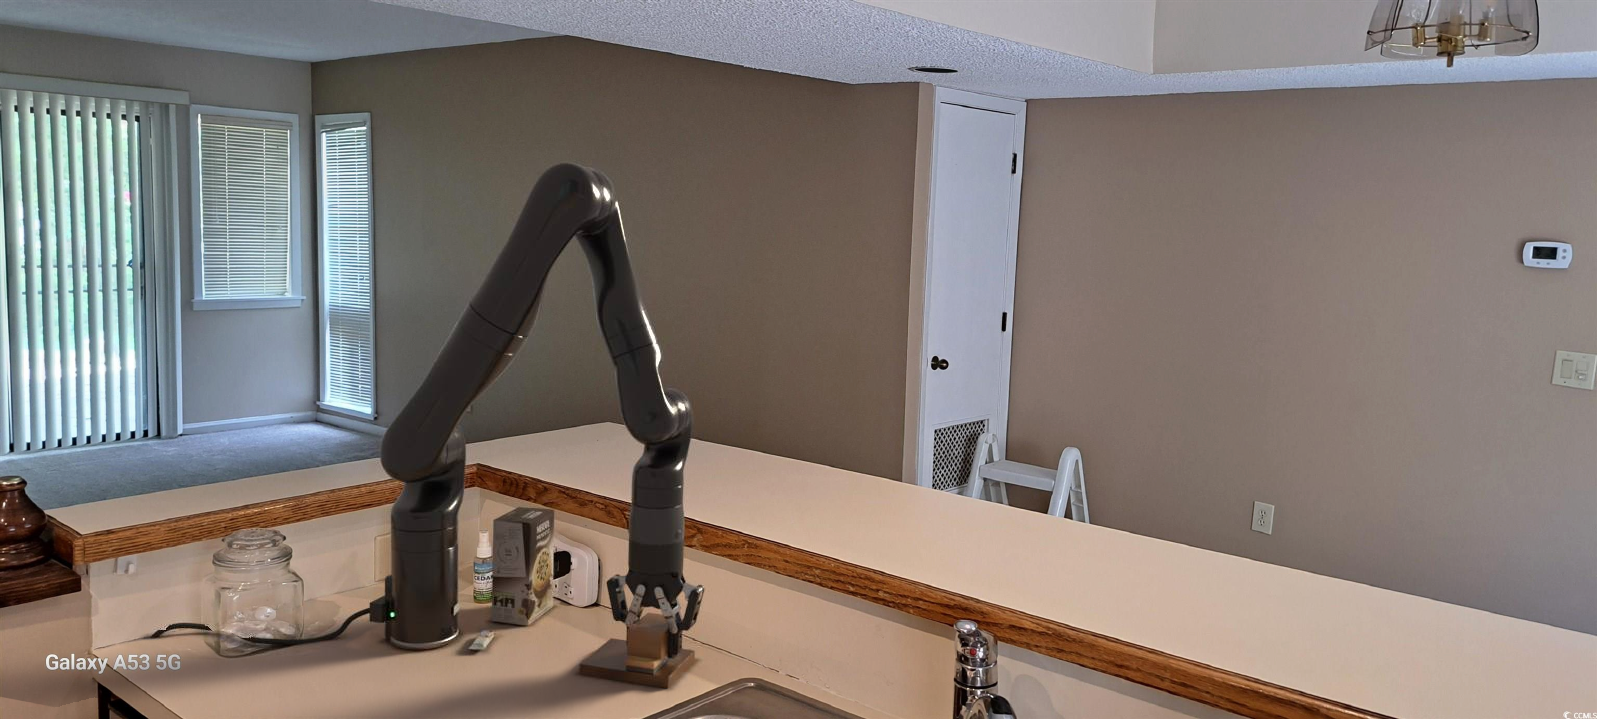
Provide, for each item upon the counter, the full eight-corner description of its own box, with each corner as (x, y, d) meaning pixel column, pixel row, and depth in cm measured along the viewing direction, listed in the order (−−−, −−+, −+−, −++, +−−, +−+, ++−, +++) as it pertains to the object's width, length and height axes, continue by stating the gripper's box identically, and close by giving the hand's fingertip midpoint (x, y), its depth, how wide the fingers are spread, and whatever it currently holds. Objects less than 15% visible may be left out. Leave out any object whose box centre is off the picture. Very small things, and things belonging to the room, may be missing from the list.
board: (579, 673, 145) (579, 663, 145) (610, 647, 155) (611, 637, 155) (668, 688, 142) (668, 677, 142) (694, 660, 152) (695, 650, 152)
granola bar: (484, 652, 151) (484, 645, 151) (468, 652, 151) (468, 645, 151) (497, 635, 158) (497, 628, 157) (481, 634, 158) (481, 627, 157)
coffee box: (529, 626, 162) (530, 523, 160) (490, 621, 163) (491, 519, 161) (554, 606, 171) (556, 508, 169) (517, 602, 172) (518, 504, 170)
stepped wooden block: (651, 643, 153) (651, 608, 153) (683, 648, 152) (684, 613, 151) (621, 670, 144) (622, 632, 143) (656, 675, 142) (657, 637, 142)
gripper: (715, 533, 148) (711, 650, 150) (619, 522, 151) (617, 637, 153) (696, 547, 140) (692, 671, 142) (596, 535, 144) (594, 656, 146)
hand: (653, 652), depth 148 cm, fingers closed on stepped wooden block, 5 cm apart
